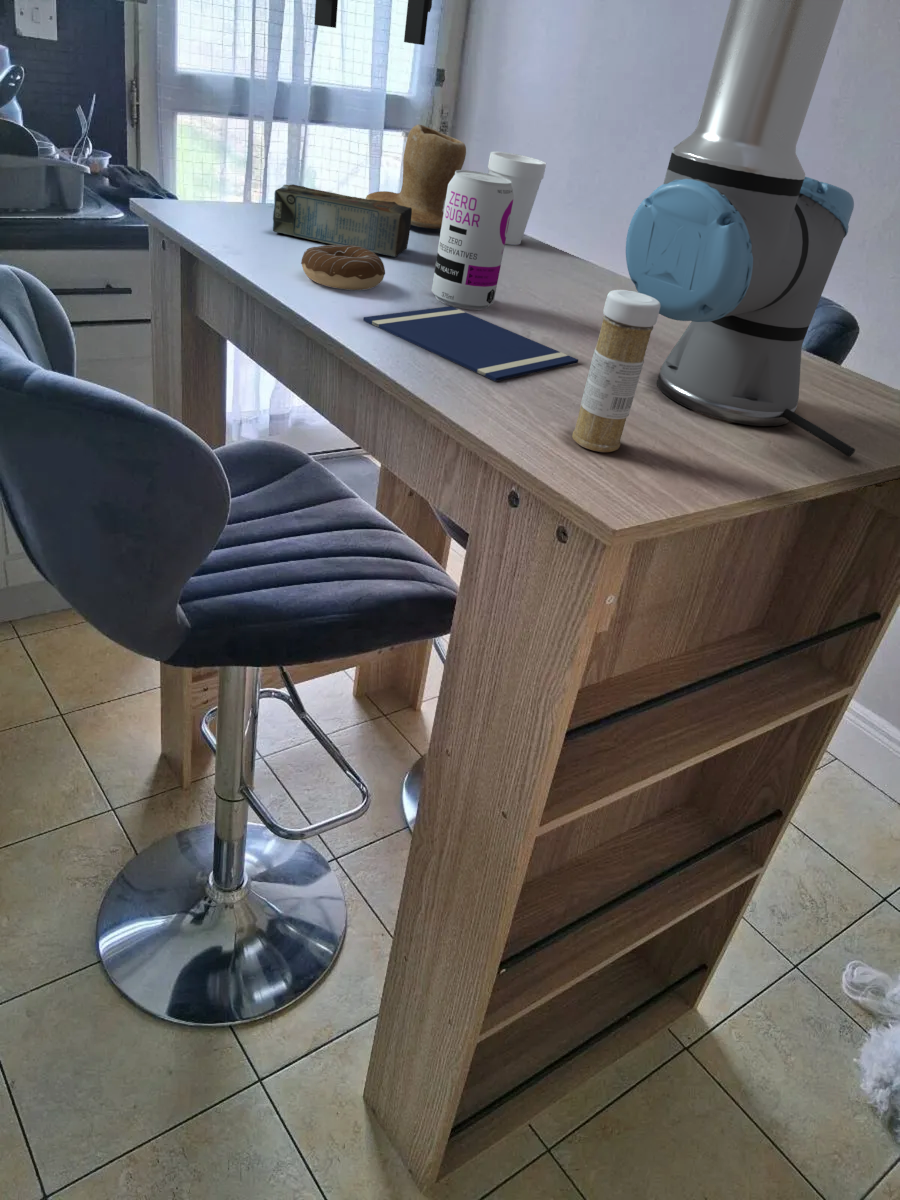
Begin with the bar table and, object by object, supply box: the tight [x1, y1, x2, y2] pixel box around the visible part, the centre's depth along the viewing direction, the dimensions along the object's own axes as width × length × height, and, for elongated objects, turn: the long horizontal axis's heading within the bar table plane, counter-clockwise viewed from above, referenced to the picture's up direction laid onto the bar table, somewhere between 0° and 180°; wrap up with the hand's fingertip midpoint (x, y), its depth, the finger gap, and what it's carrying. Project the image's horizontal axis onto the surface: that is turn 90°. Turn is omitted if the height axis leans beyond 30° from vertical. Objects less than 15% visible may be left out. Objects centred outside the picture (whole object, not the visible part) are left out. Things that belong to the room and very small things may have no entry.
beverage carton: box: [272, 183, 412, 258], centre depth 132 cm, size 8×19×7 cm, turn 81°
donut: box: [300, 244, 386, 291], centre depth 113 cm, size 11×11×4 cm
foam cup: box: [487, 151, 547, 246], centre depth 152 cm, size 10×9×13 cm
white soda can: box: [431, 169, 514, 311], centre depth 113 cm, size 8×8×15 cm
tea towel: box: [362, 305, 579, 382], centre depth 102 cm, size 20×15×1 cm
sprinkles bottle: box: [571, 289, 660, 453], centre depth 79 cm, size 5×5×14 cm
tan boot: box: [365, 124, 467, 230], centre depth 151 cm, size 15×12×15 cm
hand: (371, 35), depth 101 cm, fingers open, 13 cm apart
